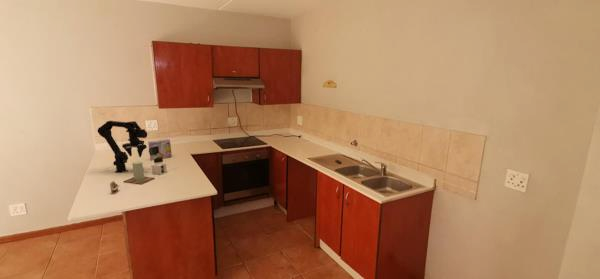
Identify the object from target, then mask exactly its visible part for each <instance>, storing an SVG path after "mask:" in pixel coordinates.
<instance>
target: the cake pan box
mask: <svg viewBox="0 0 600 279" xmlns="http://www.w3.org/2000/svg"><path fill="white" fill-rule="evenodd" d="M147 144H148V153H149V158H150V161H154V158H155V157H162V158H163V159H167V158H172V157H173V155H172V154H173V153H172V145H171V144H172V143H171V139H170V138H163V139H157V140H150V141H148V143H147Z"/></svg>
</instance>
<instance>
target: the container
mask: <svg viewBox="0 0 600 279" xmlns="http://www.w3.org/2000/svg"><path fill="white" fill-rule="evenodd" d="M150 165H151V173H152V175H158V176H159V175H163V174H166V173H168V170H167V163H166V162H164V158H162V157H155V158H154V160H153V163H152V164H150Z"/></svg>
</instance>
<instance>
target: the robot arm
mask: <svg viewBox="0 0 600 279" xmlns="http://www.w3.org/2000/svg"><path fill="white" fill-rule="evenodd" d="M113 127H114V128H115V127H117V128H124V129H126V130H125V132H126V133H128V139H127V140H128V141H129V142H127V143H123V144H122V145H121V147H122V149H124V150H125V151H122V149H121V148H120V147H119V145H118V143H117V142H116V141H115V139H114V137H113V136H112V129H113ZM97 133H98V134H99V135H100V137H102V138H104V140H105V141H106V142H107V145H109V147H110V148H111V151H112V152H113V153H114V161H113V163H112V164H113V166H115V169H116V170H115V171H114V172H115V173H121V174H122V173H124V172H127V171H128V169H127V167H126V166H127V165H126V164H127V163H128V159H129V157H132V154H133V152H132V149H133V148H135V149H136V151H137V155H138V157H139V158H142V155H143V152H144V150H146V149H147V144H145V140H142V139H146V138H147V137H148V132H147V130H146V129H145V128H143V129H142V128H141V127H140V125H139V124H138V123H137V121H120V120H119V121H116V120H115V121H114V120H108V121H106V122H105V123H104V124H103V125H100V126H99V127H98V128H97ZM140 139H141V140H140ZM128 156H129V157H128Z"/></svg>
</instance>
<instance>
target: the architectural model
mask: <svg viewBox="0 0 600 279" xmlns="http://www.w3.org/2000/svg"><path fill="white" fill-rule="evenodd" d="M109 187H110V193H111V194H113V193H114V192H117V191H118V190H119V188H120V185H118V183H116V182H115V180H112V181H111V182H110V183H109Z"/></svg>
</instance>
